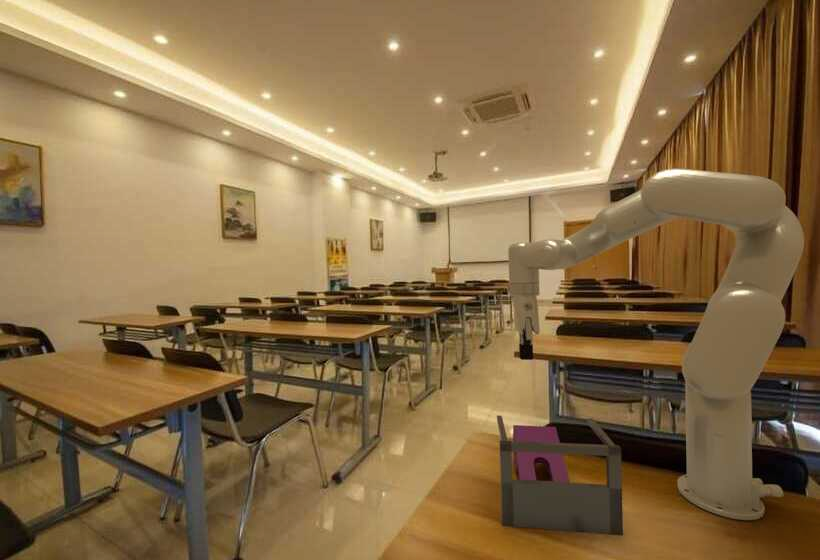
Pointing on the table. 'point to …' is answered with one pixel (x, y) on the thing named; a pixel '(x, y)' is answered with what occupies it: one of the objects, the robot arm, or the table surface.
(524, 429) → the mounting bracket
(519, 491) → the rack
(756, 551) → the table surface
